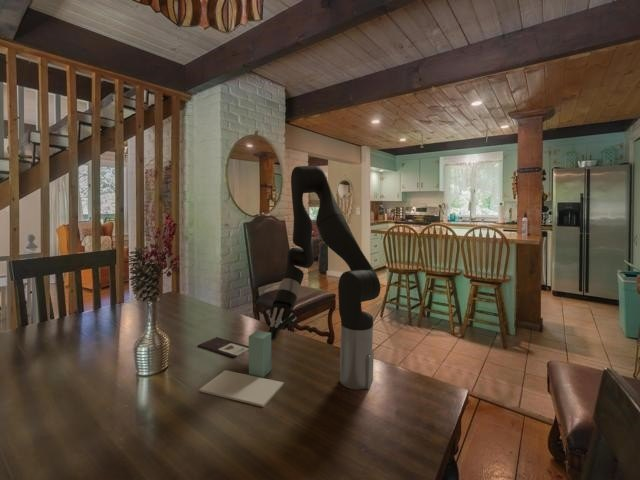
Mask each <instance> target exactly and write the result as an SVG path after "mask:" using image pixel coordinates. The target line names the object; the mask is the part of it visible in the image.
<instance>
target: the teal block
mask: <svg viewBox="0 0 640 480" xmlns="http://www.w3.org/2000/svg"><path fill="white" fill-rule="evenodd" d="M248 346H249V351H248V375H250V376H255V377H260V378H264V377H265V376H266V375H267V374H268V373H269V372H271V370H272V341H271V333H269V331H262V330H255V331H254V332H253V333H251V334H249V335H248Z"/></svg>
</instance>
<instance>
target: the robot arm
mask: <svg viewBox="0 0 640 480" xmlns="http://www.w3.org/2000/svg"><path fill="white" fill-rule="evenodd" d="M328 181H329V180H328V178H327V175H326V174H325V172H324V170H323V168H322V167H321V166H318V165H302V166H301V165H300V166H295V167H294V168H293V169H292V171H291V175H290V189H291V190H290V191H291V201H292V202H291V203H292V204H291V205H292V212H293V229H292V231H293V232H292V242H293V244H294V245H295V246H297V247H292V248H290V249H289V250H288V251H287V255H286V266H285V267H286V268H285V272H284V274H283V277H282V280H281V282H280V283H279V287H277V290H276V294H275V296H274V299H273V302H272V305H270V307H269V309H267V310H262V316H263V319H264V321H265V324H266V325H267V327H268V328H269V330H268V332H269V333H271V342H272V341H273V342H275V340H277V338H278V335H279V333H280V331H281V330H283V331H285V330H286V329H287V328H289V327H290V326H292V324H294V323H295V322H296V321H297V320H298V318H297V316H296V314H294V308H295V305H296V302H297V299H298V297H299V294H300V293H299V292H300V290H301V289H300V288H301V285H302V283H303V280H304V275H305V274H304V271H303V270H302V269H300V268H304V269H309V268H311V267H312V266H313V265H314V262H315V254H314V250H313V245H312V237H313V236H312V235H313V222H312V219H311V217H310V215H309V213H308V211H307V210H306V208H305V204H304V200H303V196H304V194H312V193H315V194H316V196H317V198H318V200H319V206H318V210H317V213H316V218H315V220H316V221H315V222H316V223H315V224H316V228H317V230H318V232H319V235H320V237H321V240H322V241H323V242H324V243H325V245H326V246H327V247H328V248H329V249H330V250H332V251H333V253H334V254H336V255H337V256H338V257H340V258H341V259H342V260H343V261H344V262H345V263H346V265H347V266H348V268H349V269H350V270H347V271H344V272H342V274H340V277H339V280H338V284H337V285H338V286H337V289H338V291H337V293H338V313H339V316H340V350H339V351H340V352H339V353H340V357H339V358H340V359H339V361H340V362H339V364H340V365H339V382H340V384H341V385H342V386H343V387H345V388H348V389H351V390H357V391H358V390H370V387H371V385H372V382H373V380H374V354H375V353H374V352H375V351H374V348H373V340H374V339H373V338H374V337H373V336H374V334H373V333H374V317H373V315H372V314H371V313H369V312H366V311H363V309H362V303H363V302H368V301H373V300H375V299H377V298H378V297H379V296H380V294H381V282H380V279H379V276H378V275H377V272H376V271H375V269H374V267H373V266H372V265H371V263H370V262H369V260H368V258H367V257H366V255H365V254H364V253H363V251H362V248H361V247H360V246H359V244H358V242H357V240H356V238H355V236H354V235H353V232H352V231H351V229H350V226H349V224H348V222H347V219H346V218H345V216H344V215H343V212H342V210H341V209H340V207H339V204H338V203H337V200H336V198H335V196H334V194H333V192H332V190H331V186H330V184H329V182H328ZM270 317H271V319H270Z"/></svg>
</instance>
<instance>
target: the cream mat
mask: <svg viewBox="0 0 640 480" xmlns="http://www.w3.org/2000/svg"><path fill="white" fill-rule="evenodd" d="M284 384H285V383H284V382H283V381H280V380H274V379H268V378H264V377H259V376H255V375H250V374H245V373H239V372H235V371H231V370H227V369H226V370H225V369H224V370H223V371H222V372H220V374H218V375H217V376H216V377H214V378H212V379H211V380H210V381H208V382H207V383H206V384H205V385H203V386H202V387H200V388H199V390H198V391H199V392H201V393H204V394H208V395H213V396H217V397H222V398H225V399H229V400H233V401H238V402H242V403H246V404H249V405H253V406H258V407H262V408H264V407H265V406H266V405H268V403H269V402H270V401H271V400H272V398H273V397H274V396H276V394H277V393H278V392H279V390H281V388H282V387H283V386H284Z"/></svg>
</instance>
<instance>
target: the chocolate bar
mask: <svg viewBox="0 0 640 480" xmlns="http://www.w3.org/2000/svg"><path fill="white" fill-rule="evenodd" d="M197 347H198V348H201V349H203V350H207V351H210V352H214V353H215V354H216V353H217V354H219V355H222V356H225V357H229V358H232V359H235V358H237V357H239V356H240V355H243V354H245V353H247V352H249V345H245V344H243V343H239V342H235V341H232V340H228V339H224V338H222V337H217V336H216V337H214V338H211V339H209V340H206V341H204V342H201V343H199V344H197Z"/></svg>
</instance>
